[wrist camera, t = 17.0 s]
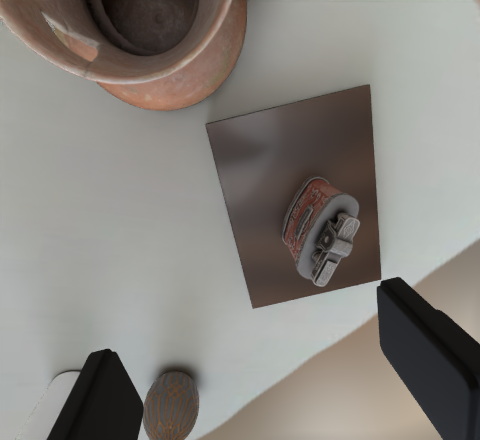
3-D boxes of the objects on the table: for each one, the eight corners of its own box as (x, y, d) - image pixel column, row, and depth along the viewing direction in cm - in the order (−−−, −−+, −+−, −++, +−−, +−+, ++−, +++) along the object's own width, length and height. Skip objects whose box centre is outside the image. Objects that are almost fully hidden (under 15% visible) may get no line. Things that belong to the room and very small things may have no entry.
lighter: (305, 170, 30) (345, 197, 20) (334, 182, 30) (385, 213, 21) (274, 238, 32) (296, 289, 23) (301, 247, 33) (333, 301, 23)
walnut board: (205, 123, 29) (205, 124, 28) (364, 85, 28) (370, 84, 27) (251, 302, 36) (252, 309, 35) (376, 274, 36) (381, 279, 35)
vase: (211, 378, 40) (208, 446, 32) (180, 406, 42) (170, 478, 34) (171, 354, 39) (157, 420, 30) (140, 385, 40) (119, 455, 32)
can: (55, 403, 40) (-9, 516, 29) (49, 368, 38) (-23, 475, 27) (103, 404, 41) (58, 514, 30) (99, 369, 39) (50, 474, 27)
